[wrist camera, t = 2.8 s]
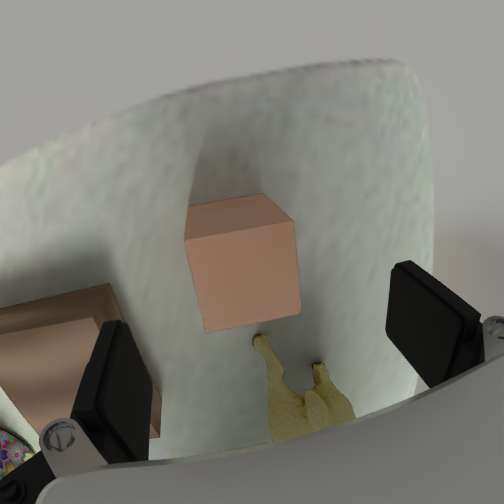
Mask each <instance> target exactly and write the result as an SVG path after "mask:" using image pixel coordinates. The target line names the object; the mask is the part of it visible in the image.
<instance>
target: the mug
mask: <svg viewBox="0 0 504 504" xmlns="http://www.w3.org/2000/svg"><path fill="white" fill-rule="evenodd" d="M32 456H34V454H33V453H32V452H31V450H30V449H29V448H28V447H27V446H26V445H25V444H23V443H22V442H21V441H20V440H18V439H17V438H15V437H14V436H12V435H11V434H9V433H7V432H5V431H3V430H0V480H1V479H2V478H3V477H4V476H5V475H7V474H8V473H9V472H11V471H12V470H14V469H15V468H17V467H18V466H19V465H21V464H22V463H24V462H25V461H27V460H28V459H29V458H31V457H32Z"/></svg>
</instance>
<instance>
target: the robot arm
mask: <svg viewBox="0 0 504 504" xmlns="http://www.w3.org/2000/svg"><path fill="white" fill-rule="evenodd" d="M480 317H481V314H480V313H479V312H478V311H477V310H475V309H474V308H473V307H472V306H470V305H469V304H468V303H467V302H465V301H464V300H463V299H462V298H460V297H459V296H458V295H456V294H455V293H454V292H453V291H451V290H450V289H449V288H447V287H446V286H445V285H443V284H442V283H441V282H440V281H438V280H437V279H435V278H434V277H433V276H432V275H430V274H429V273H428V272H426V271H425V270H423V269H422V268H421V267H419V266H418V265H417V264H415V263H414V262H412V261H411V260H408V261H404V262H400V263H397V264H395V266H394V268H393V269H392V270H391V278H390V290H389V301H388V310H387V319H386V328H385V329H386V334H387V336H388V338H389V339H390V340H391V341H392V342H393V344H394V345H395V346H396V347H397V348H398V350H399V351H400V352H401V353H402V354H403V356H404V357H405V358H406V359H407V361H408V362H409V363H410V364H411V366H412V367H413V368H414V369H415V371H416V372H417V373H418V374H419V375H420V377H421V378H422V379H423V380H424V382H425V383H426V384H427V386H428V387H429V388H430V389H428V390H426V391H424V392H422V393H420V394H417V395H415V396H413V397H410V398H408V399H406V400H403V401H401V402H398V403H396V404H393V405H391V406H388V407H386V408H383V409H381V410H378V411H375V412H373V413H370V414H367V415H364V416H362V417H359V418H356V419H353V420H350V421H347V422H344V423H341V424H338V425H334V426H331V427H328V428H325V429H321V430H318V431H314V432H311V433H307V434H303V435H300V436H296V437H292V438H288V439H284V440H280V441H275V442H271V443H266V444H262V445H257V446H252V447H247V448H242V449H236V450H231V451H225V452H218V453H212V454H205V455H197V456H189V457H181V458H172V459H162V460H150V461H148V455H149V435H150V419H151V406H152V394H153V385H152V381H151V378H150V376H149V374H148V372H147V369H146V367H145V365H144V363H143V360H142V358H141V356H140V353H139V351H138V349H137V346H136V344H135V341H134V339H133V337H132V334H131V332H130V329H129V327H128V325H127V323H122V321H121V320H119V319H118V320H112V321H105V322H103V324H102V327H101V330H100V332H99V335H98V338H97V340H96V343H95V346H94V349H93V351H92V354H91V357H90V360H89V362H88V363H87V365H86V367H85V370H84V373H83V376H82V379H81V382H80V385H79V388H78V391H77V395H76V398H75V401H74V404H73V408H72V411H71V415H70V418H58V419H55V420H53V421H51V422H50V423H48V424H47V425H46V426H45V427H44V429H43V430H42V431H41V434H40V436H39V445H40V448H41V451H39V452H38V453H36V454H35V455H34V456H32V457H31V458H29V459H28V460H27V461H25V462H24V463H22V464H21V465H19V466H18V467H17V468H15V469H14V470H12V471H11V472H9V473H8V474H7V475H5V476H4V477H3V478H2V479H1V480H0V504H504V317H502V316H491V317H488V318H487V319H486V320H484V322H483V324H482V323H481V322H480V321H479V320H480Z"/></svg>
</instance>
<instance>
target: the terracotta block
mask: <svg viewBox="0 0 504 504" xmlns="http://www.w3.org/2000/svg"><path fill="white" fill-rule="evenodd" d="M184 242H185V247H186V252H187V256H188V261H189V265H190V269H191V274H192V278H193V282H194V286H195V291H196V295H197V299H198V303H199V307H200V311H201V315H202V319H203V323H204V327H205V331H206V333H208V332H214V331H219V330H224V329H229V328H235V327H240V326H245V325H250V324H255V323H259V322H264V321H269V320H274V319H278V318H283V317H287V316H292V315H296V314H300V313H301V302H300V288H299V275H298V263H297V251H296V240H295V229H294V221H293V220H292V219H291V218H290V217H289V216H288V215H287V214H286V213H285V212H283V211H282V210H281V209H280V208H279V207H278V206H277V205H276V204H275V203H273V202H272V201H271V200H270V199H269V198H268V197H267V196H266V195H265V194H256V195H250V196H244V197H238V198H233V199H227V200H221V201H216V202H210V203H205V204H199V205H194V206H189V207H188V210H187V219H186V228H185V237H184Z"/></svg>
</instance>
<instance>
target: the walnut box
mask: <svg viewBox="0 0 504 504" xmlns="http://www.w3.org/2000/svg"><path fill="white" fill-rule="evenodd" d="M118 319H119V320H121V321H122V323H125V320H124V318H123V316H122V313H121V311H120V308H119V306H118V303H117V301H116V298H115V296H114V293H113V291H112V288H111V286H110V283H107V284H103V285H98V286H94V287H90V288H86V289H81V290H77V291H73V292H69V293H64V294H60V295H56V296H51V297H47V298H43V299H39V300H34V301H30V302H26V303H22V304H17V305H13V306H9V307H5V308H0V386H1V388H2V389H3V391H4V392H5V393H6V395H7V396H8V397H9V399H10V400H11V401H12V403H13V404H14V405H15V407H16V408H17V409H18V411H19V412H20V413H21V414H22V416H23V417H24V418H25V419H26V421H27V422H28V423H29V424H30V425H31V427H32V428H33V429H34V430H35V431H36V432H37V434H38V435H39V436H40V434H41V431H42V430H43V429H44V427H45V426H46V425H47V424H48V423H50V422H51V421H53V420H55V419H58V418H70V415H71V411H72V408H73V404H74V401H75V398H76V395H77V391H78V388H79V385H80V382H81V379H82V376H83V373H84V370H85V367H86V365H87V363H88V362H89V360H90V357H91V354H92V351H93V349H94V346H95V343H96V340H97V338H98V335H99V332H100V330H101V327H102V324H103V322H105V321H112V320H118ZM143 363H144V362H143ZM144 365H145V364H144ZM145 367H146V366H145ZM146 369H147V368H146ZM147 372H148V370H147ZM148 374H149V372H148ZM149 376H150V374H149ZM150 378H151V376H150ZM151 381H152V385H153V394H152V406H151V419H150V435H149V439H153V438H160V426H161V406H162V397H161V396H160V394H159V392H158V390H157V388H156V386H155V384H154V382H153V380H152V378H151Z"/></svg>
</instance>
